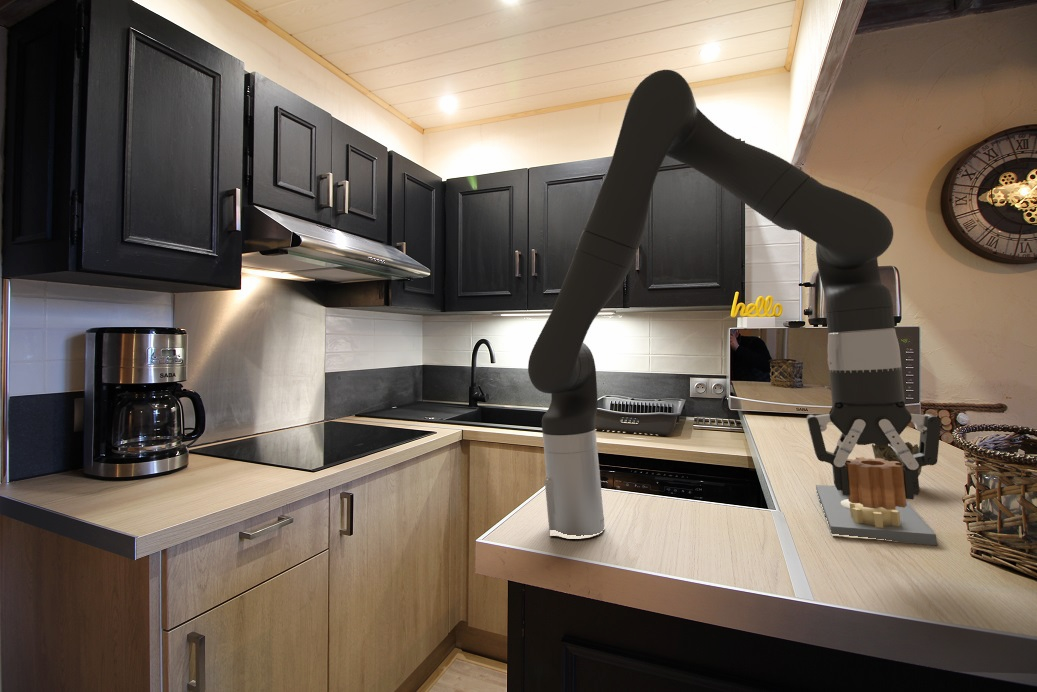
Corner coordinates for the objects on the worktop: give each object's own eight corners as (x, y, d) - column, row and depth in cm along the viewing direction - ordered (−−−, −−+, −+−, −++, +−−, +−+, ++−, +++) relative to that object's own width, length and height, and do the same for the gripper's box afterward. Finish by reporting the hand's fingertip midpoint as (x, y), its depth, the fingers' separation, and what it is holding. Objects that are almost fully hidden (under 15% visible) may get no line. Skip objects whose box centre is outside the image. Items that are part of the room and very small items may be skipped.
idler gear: (863, 509, 57) (859, 469, 57) (838, 495, 63) (835, 458, 63) (918, 509, 56) (914, 467, 56) (887, 493, 62) (884, 456, 62)
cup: (881, 491, 85) (876, 448, 85) (872, 481, 92) (867, 441, 92) (933, 494, 82) (928, 449, 82) (920, 482, 88) (915, 441, 88)
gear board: (937, 545, 63) (933, 512, 63) (831, 536, 68) (828, 506, 68) (896, 496, 82) (893, 471, 82) (816, 492, 88) (814, 469, 88)
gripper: (801, 370, 60) (812, 500, 59) (946, 363, 53) (961, 510, 52) (797, 367, 66) (807, 484, 66) (926, 360, 59) (938, 491, 59)
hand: (875, 495), depth 59 cm, fingers closed on idler gear, 6 cm apart
